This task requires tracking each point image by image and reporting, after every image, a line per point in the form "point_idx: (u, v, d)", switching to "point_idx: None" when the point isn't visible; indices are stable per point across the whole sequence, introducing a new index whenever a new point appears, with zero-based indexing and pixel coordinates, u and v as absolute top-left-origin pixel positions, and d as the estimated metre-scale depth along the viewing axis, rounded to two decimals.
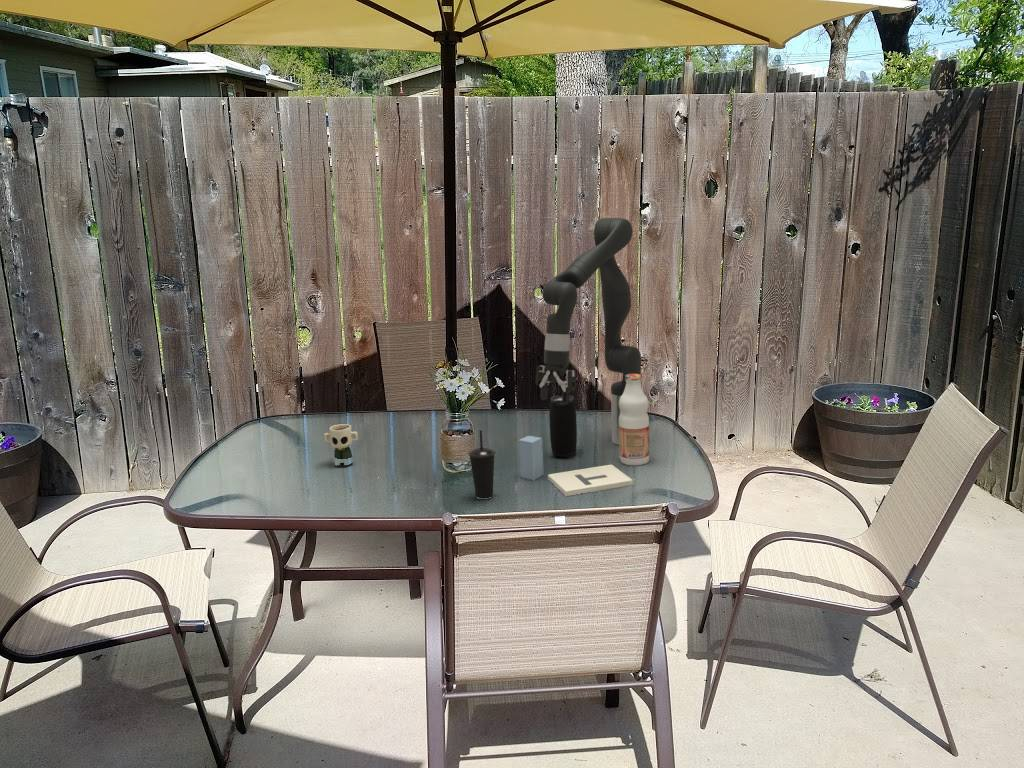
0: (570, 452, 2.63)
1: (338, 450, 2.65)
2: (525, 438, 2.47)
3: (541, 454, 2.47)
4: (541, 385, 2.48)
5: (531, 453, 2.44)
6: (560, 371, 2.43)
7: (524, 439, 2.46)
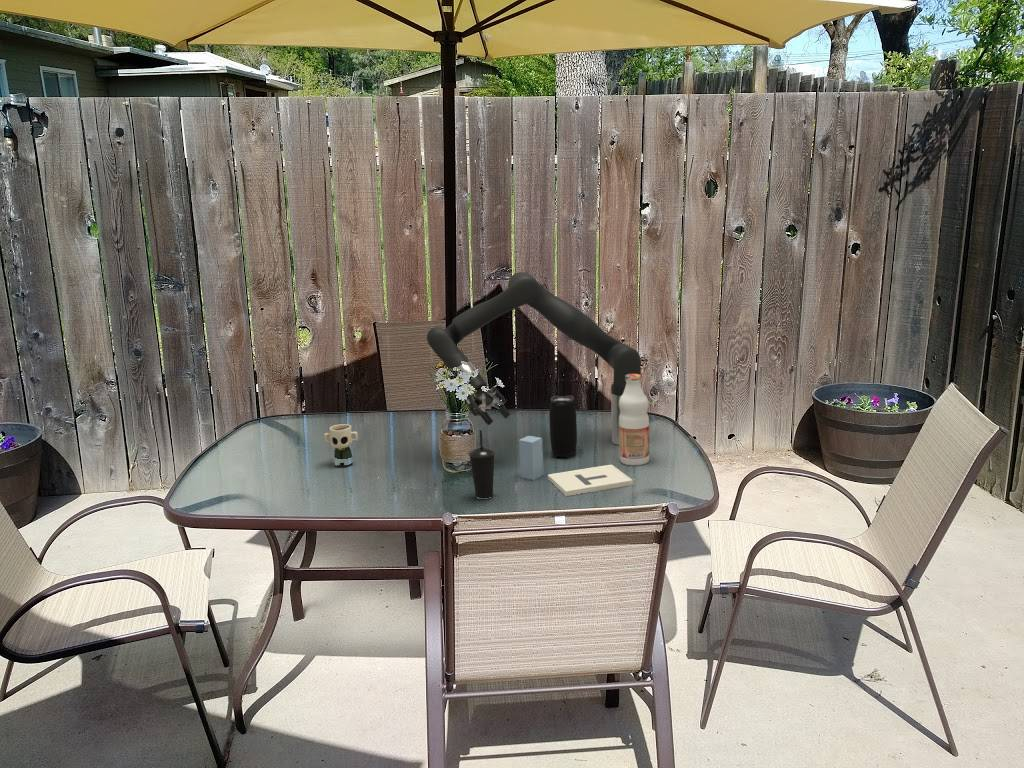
0: (570, 452, 2.63)
1: (338, 450, 2.65)
2: (525, 438, 2.47)
3: (541, 454, 2.47)
4: None
5: (531, 453, 2.44)
6: None
7: (524, 439, 2.46)
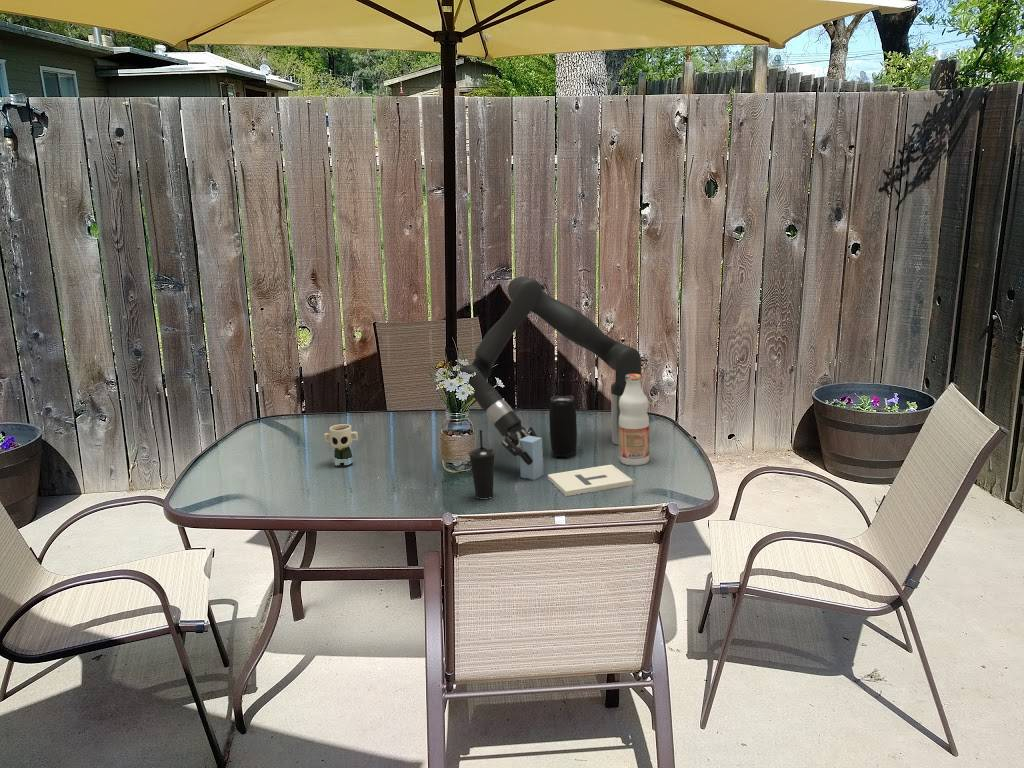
0: (570, 452, 2.63)
1: (338, 450, 2.65)
2: (525, 438, 2.47)
3: (541, 454, 2.47)
4: None
5: (531, 453, 2.44)
6: None
7: (524, 439, 2.46)
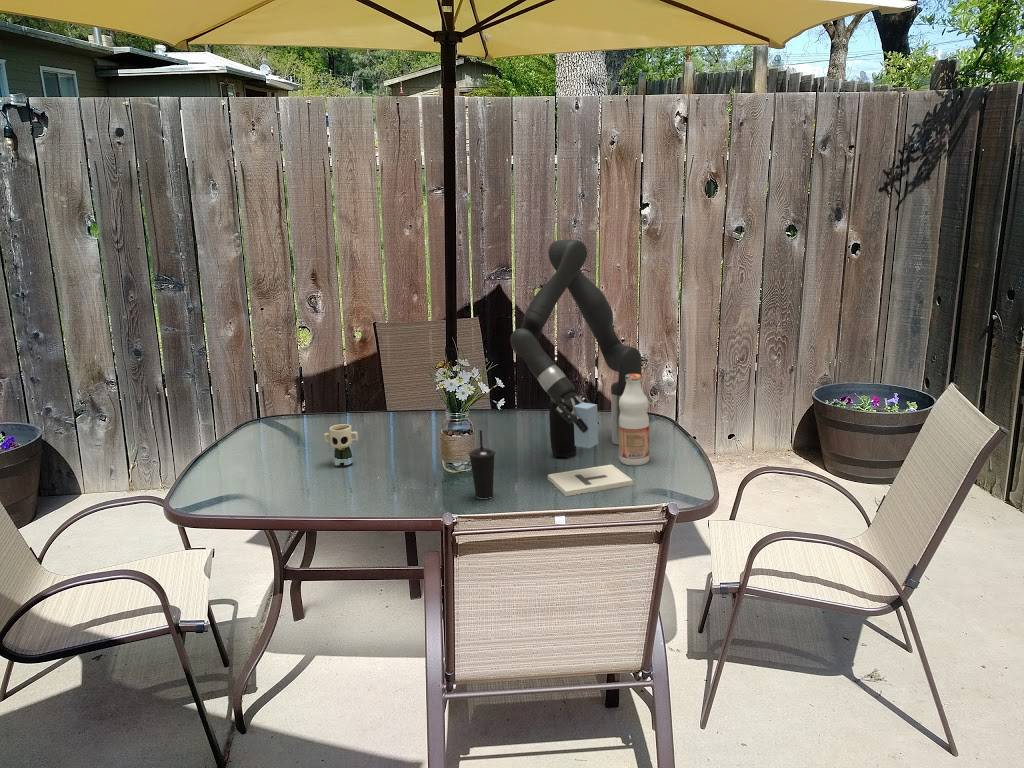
0: (570, 452, 2.63)
1: (338, 450, 2.65)
2: (579, 405, 2.37)
3: (596, 421, 2.38)
4: None
5: (586, 420, 2.34)
6: None
7: (579, 406, 2.36)
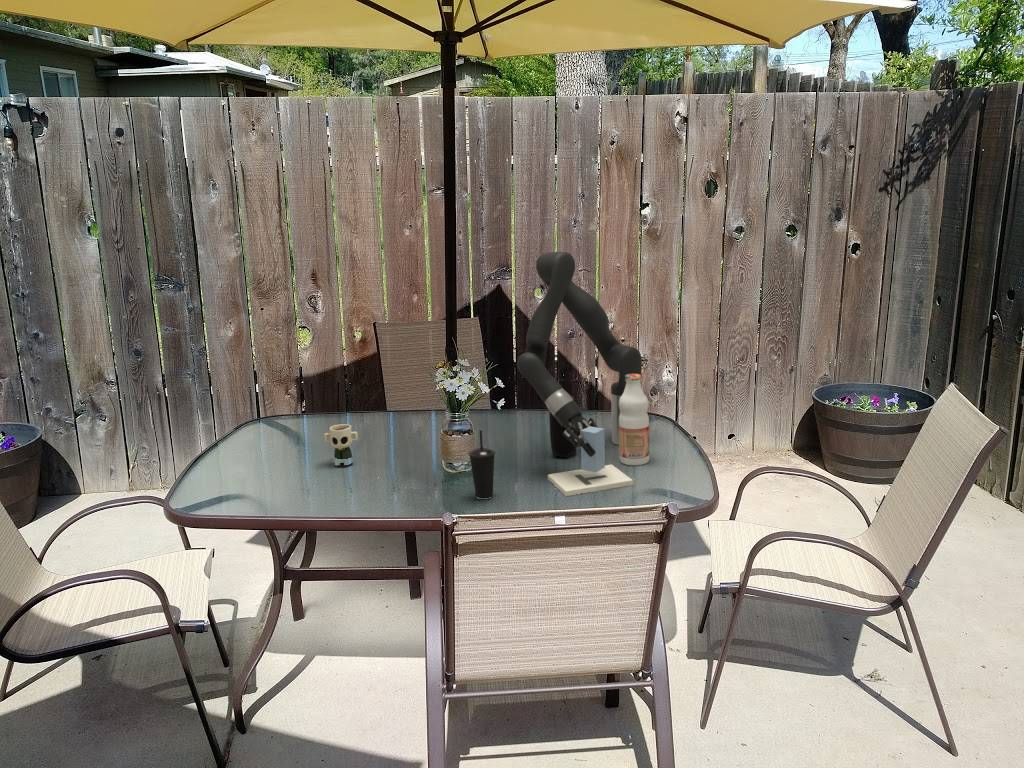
0: (570, 452, 2.63)
1: (338, 450, 2.65)
2: (587, 429, 2.38)
3: (603, 445, 2.39)
4: None
5: (594, 444, 2.35)
6: None
7: (586, 430, 2.37)
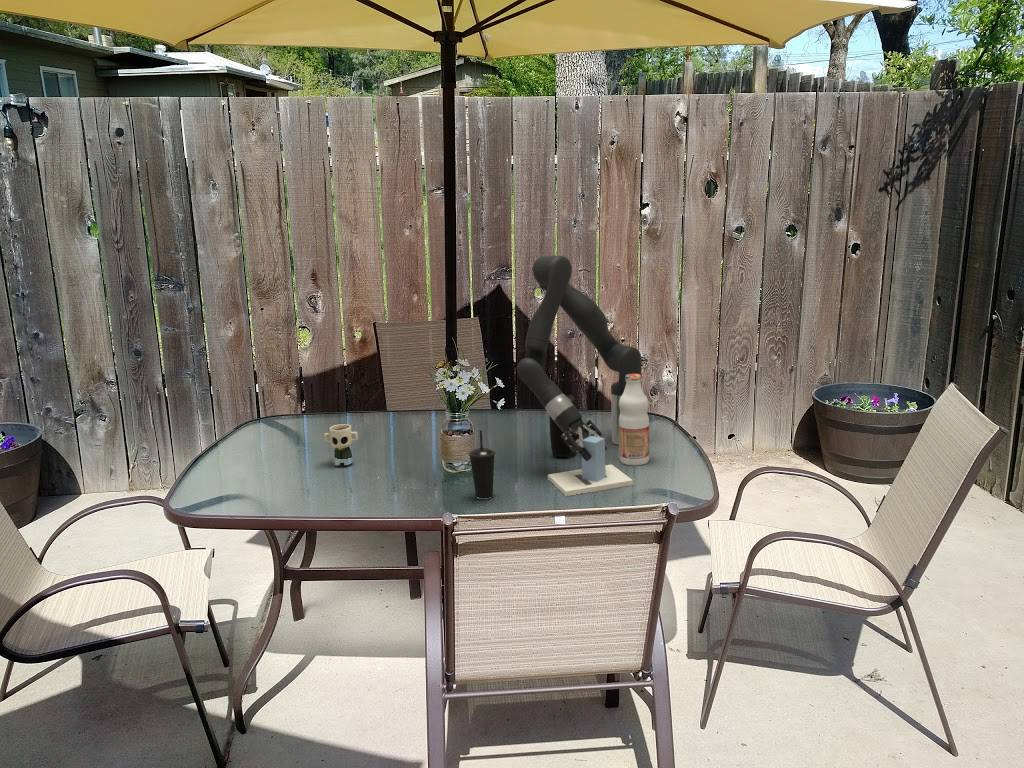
0: (570, 452, 2.63)
1: (338, 450, 2.65)
2: (587, 438, 2.39)
3: (604, 455, 2.39)
4: None
5: (594, 454, 2.36)
6: None
7: (586, 439, 2.38)
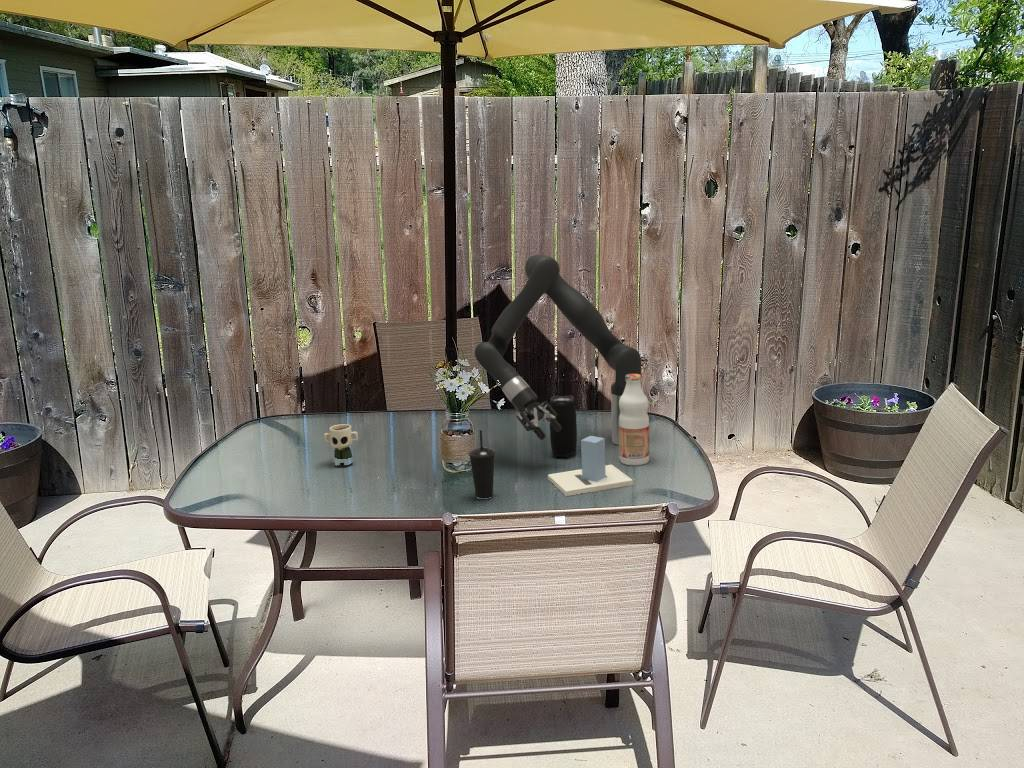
0: (570, 452, 2.63)
1: (338, 450, 2.65)
2: (587, 438, 2.39)
3: (604, 455, 2.39)
4: None
5: (594, 454, 2.36)
6: None
7: (586, 439, 2.38)
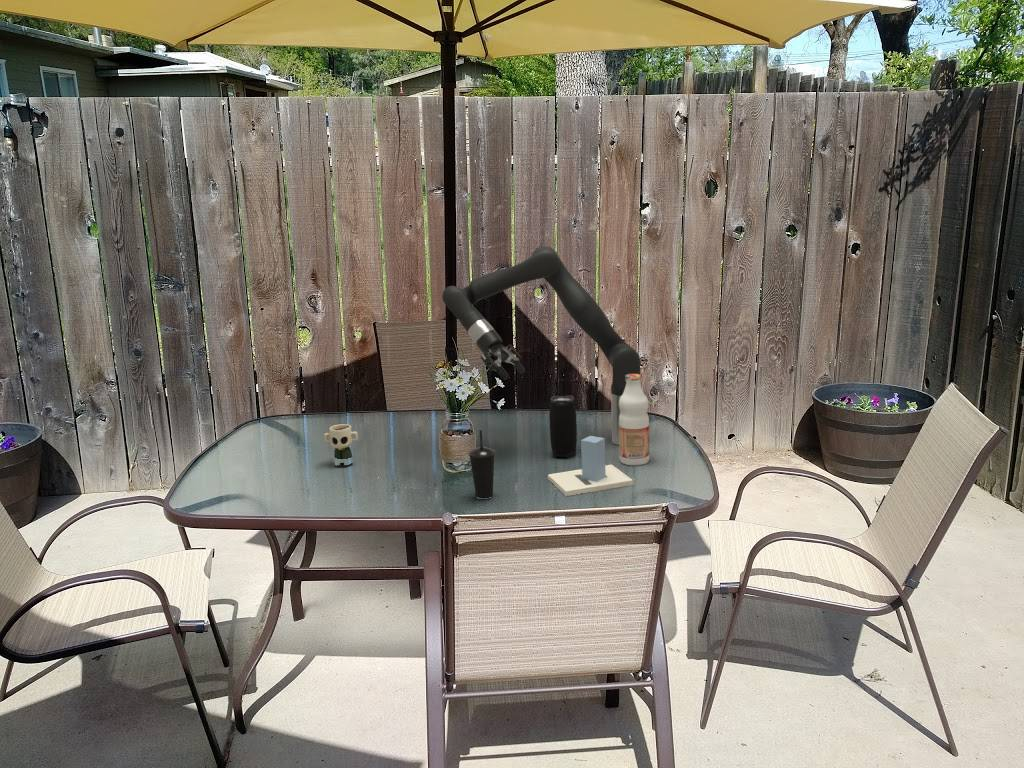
0: (570, 452, 2.63)
1: (338, 450, 2.65)
2: (587, 438, 2.39)
3: (604, 455, 2.39)
4: None
5: (594, 454, 2.36)
6: None
7: (586, 439, 2.38)
